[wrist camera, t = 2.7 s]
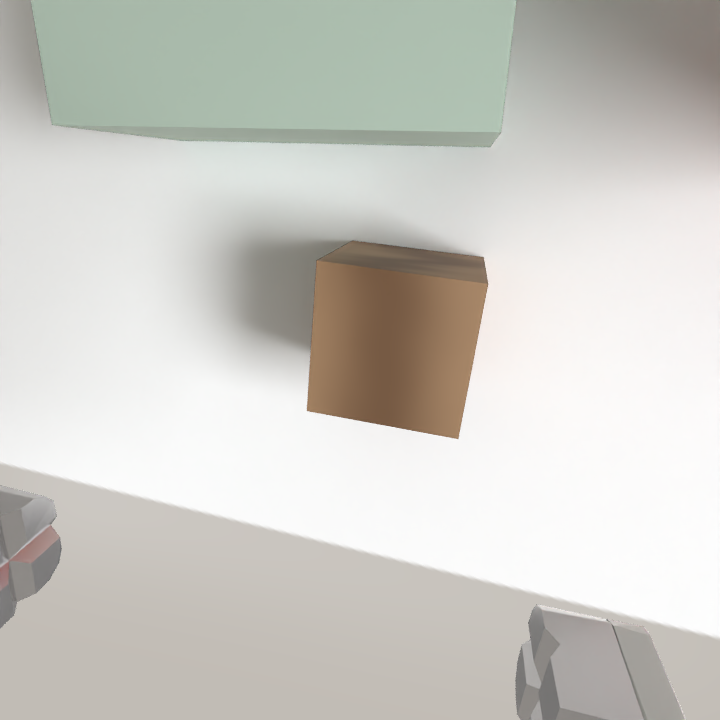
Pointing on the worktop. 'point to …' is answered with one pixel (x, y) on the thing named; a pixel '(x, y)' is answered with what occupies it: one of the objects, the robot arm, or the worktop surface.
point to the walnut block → (395, 335)
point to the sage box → (279, 69)
